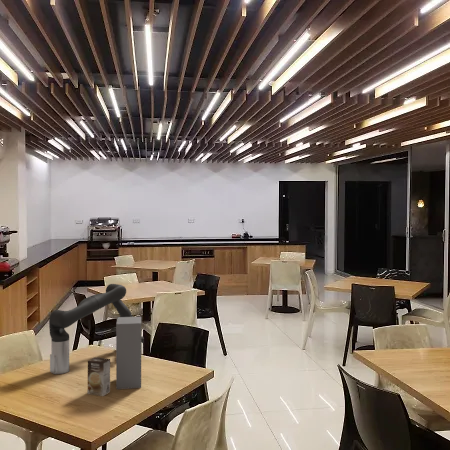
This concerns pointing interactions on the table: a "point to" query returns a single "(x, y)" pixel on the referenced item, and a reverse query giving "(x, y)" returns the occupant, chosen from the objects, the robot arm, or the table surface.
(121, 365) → the pedestal
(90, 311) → the robot arm
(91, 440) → the table surface
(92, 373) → the coffee box
